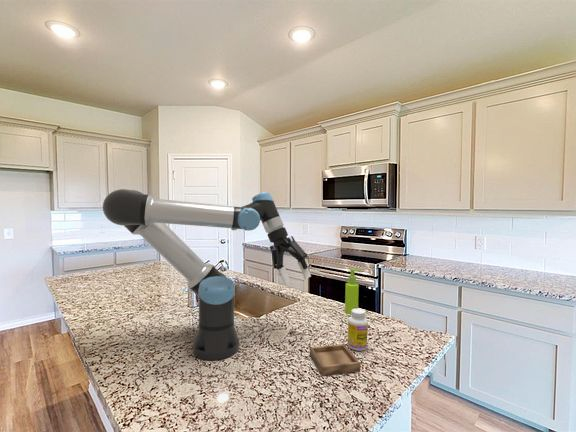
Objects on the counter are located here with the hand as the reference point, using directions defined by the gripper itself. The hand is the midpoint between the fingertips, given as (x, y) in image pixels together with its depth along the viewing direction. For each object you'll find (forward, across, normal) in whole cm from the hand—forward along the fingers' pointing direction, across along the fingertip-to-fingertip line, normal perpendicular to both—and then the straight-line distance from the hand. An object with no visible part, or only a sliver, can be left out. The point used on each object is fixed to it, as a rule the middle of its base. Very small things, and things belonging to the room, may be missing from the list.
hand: (297, 280), depth 114 cm
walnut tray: (+26, -15, +10) cm, 31 cm away
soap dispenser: (+26, +10, -29) cm, 40 cm away
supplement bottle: (+29, -12, -3) cm, 31 cm away
